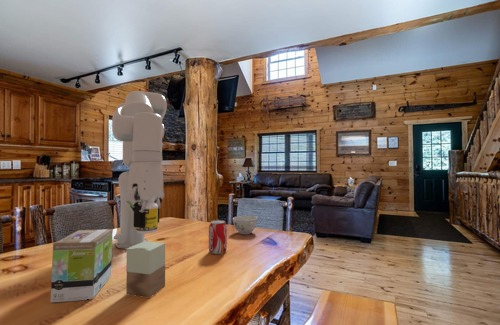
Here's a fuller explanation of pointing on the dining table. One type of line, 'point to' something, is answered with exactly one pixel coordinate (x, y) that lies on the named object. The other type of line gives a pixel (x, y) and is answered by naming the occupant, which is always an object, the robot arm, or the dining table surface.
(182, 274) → the dining table surface
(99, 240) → the tea box
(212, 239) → the soda can
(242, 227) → the teacup
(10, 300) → the dining table surface
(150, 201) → the supplement bottle
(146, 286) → the bottom block
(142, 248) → the top block
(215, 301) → the dining table surface
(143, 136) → the robot arm
